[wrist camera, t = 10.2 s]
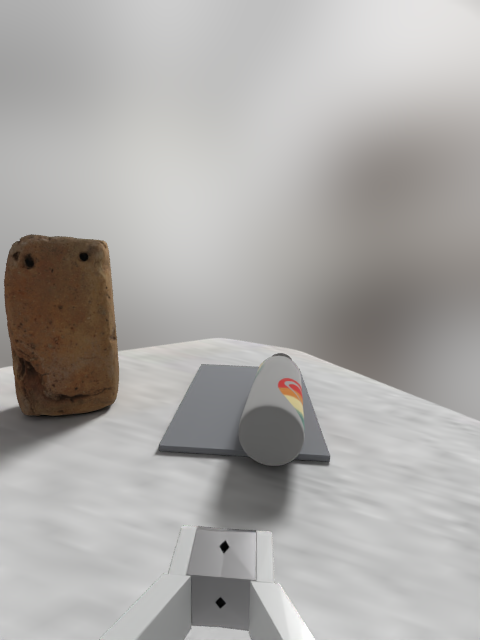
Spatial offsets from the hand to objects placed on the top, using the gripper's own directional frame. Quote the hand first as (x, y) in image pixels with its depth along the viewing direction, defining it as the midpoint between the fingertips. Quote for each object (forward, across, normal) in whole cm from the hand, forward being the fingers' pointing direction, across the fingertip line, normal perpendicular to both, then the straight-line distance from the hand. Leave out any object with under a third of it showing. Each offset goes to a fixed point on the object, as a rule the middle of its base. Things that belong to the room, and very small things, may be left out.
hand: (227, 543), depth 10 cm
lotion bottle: (+14, -2, +5) cm, 16 cm away
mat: (+28, 0, +9) cm, 30 cm away
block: (+25, +21, +9) cm, 34 cm away
